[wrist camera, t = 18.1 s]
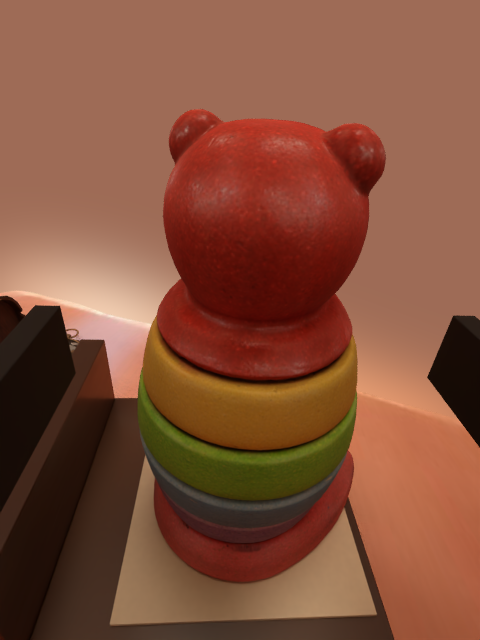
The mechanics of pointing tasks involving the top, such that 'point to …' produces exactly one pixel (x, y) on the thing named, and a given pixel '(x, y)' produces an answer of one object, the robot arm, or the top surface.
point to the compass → (6, 315)
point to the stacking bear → (255, 340)
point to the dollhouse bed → (149, 547)
